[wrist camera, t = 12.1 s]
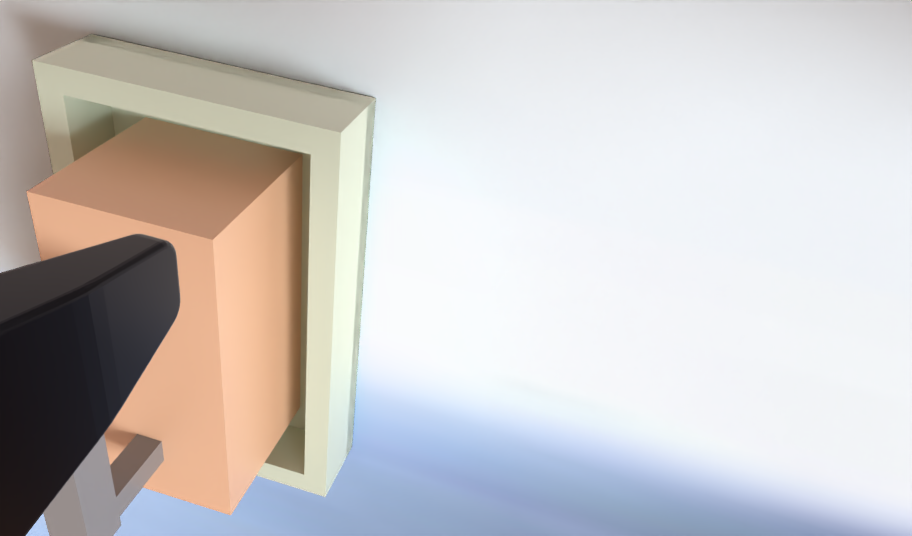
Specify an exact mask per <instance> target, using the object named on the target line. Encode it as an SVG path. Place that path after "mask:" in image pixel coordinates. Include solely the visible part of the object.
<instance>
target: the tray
mask: <svg viewBox="0 0 912 536" xmlns="http://www.w3.org/2000/svg"><path fill="white" fill-rule="evenodd" d="M32 63H33V69H34V74H35V80H36V85H37V90H38V96H39V101H40V107H41V112H42V117H43V123H44V128H45V134H46V139H47V144H48V150H49V155H50V160H51V166H52V171H53V175H54V174H55V173H57V172H58V171H60V170H62V169H63V168H65V167H66V166H68V165H70V164H71V163H73V162H74V161H76V160H78V159H79V158H81V157H82V156H84V155H86V154H87V153H89V152H90V151H92V150H94V149H95V148H97V147H98V146H100V145H102V144H103V143H105V142H106V141H108V140H110V139H111V138H113V137H114V136H116V135H118V134H119V133H121V132H123V131H124V130H126V129H127V128H129V127H131V126H132V125H134V124H135V123H137V122H139V121H140V120H142V119H143V118H145V117H147V118H152V119H156V120H160V121H164V122H168V123H173V124H177V125H181V126H185V127H189V128H194V129H198V130H202V131H206V132H211V133H215V134H219V135H223V136H227V137H232V138H236V139H240V140H244V141H248V142H253V143H257V144H261V145H265V146H269V147H274V148H278V149H282V150H286V151H291V152H295V153H299V154H303V159H302V264H301V370H300V408H299V410H298V411H297V413H296V414H295V416H294V417H293V419H292V420H291V422H290V424H289V425H288V427H287V428H286V430H285V431H284V433H283V435H282V436H281V438H280V439H279V441H278V442H277V444H276V445H275V447H274V449H273V450H272V452H271V453H270V455H269V456H268V458H267V460H266V461H265V463H264V464H263V466H262V467H261V469H260V470H259V472H258V474H257V476H260V477H263V478H266V479H269V480H273V481H276V482H279V483H282V484H286V485H289V486H292V487H295V488H298V489H302V490H305V491H308V492H311V493H314V494H318V495H321V496H324V497H326V495H327V493H328V491H329V489H330V487H331V485H332V483H333V482H334V480H335V478H336V476H337V474H338V472H339V470H340V468H341V466H342V464H343V463H344V461H345V459H346V457H347V455H348V453H349V451H350V449H351V447H352V440H353V425H354V411H355V396H356V381H357V366H358V352H359V337H360V322H361V308H362V293H363V278H364V264H365V249H366V234H367V219H368V205H369V190H370V175H371V161H372V146H373V131H374V117H375V102H376V98H372V97H368V96H363V95H359V94H354V93H350V92H346V91H341V90H337V89H332V88H328V87H324V86H319V85H315V84H310V83H306V82H301V81H297V80H293V79H288V78H284V77H279V76H275V75H270V74H266V73H262V72H257V71H253V70H248V69H244V68H240V67H235V66H231V65H226V64H222V63H217V62H213V61H209V60H204V59H200V58H195V57H191V56H186V55H182V54H178V53H173V52H169V51H164V50H160V49H155V48H151V47H147V46H142V45H138V44H133V43H129V42H125V41H120V40H116V39H111V38H107V37H102V36H98V35H94V34H91V35H89V36H86V37H84V38H82V39H79V40H77V41H75V42H72V43H70V44H68V45H66V46H63V47H61V48H59V49H56V50H54V51H52V52H50V53H47V54H45V55H43V56H40V57H38V58H36V59H33V60H32Z"/></svg>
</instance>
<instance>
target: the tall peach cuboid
mask: <svg viewBox="0 0 912 536" xmlns="http://www.w3.org/2000/svg"><path fill="white" fill-rule="evenodd" d="M302 159H303V154H299V153H295V152H291V151H286V150H282V149H278V148H274V147H269V146H265V145H261V144H257V143H253V142H248V141H244V140H240V139H236V138H232V137H227V136H223V135H219V134H215V133H211V132H206V131H202V130H198V129H194V128H189V127H185V126H181V125H177V124H173V123H168V122H164V121H160V120H156V119H152V118H147V117H145V118H143V119H142V120H140V121H139V122H137V123H135V124H134V125H132V126H131V127H129V128H127V129H126V130H124V131H123V132H121V133H119V134H118V135H116V136H114V137H113V138H111V139H110V140H108V141H106V142H105V143H103V144H102V145H100V146H98V147H97V148H95V149H94V150H92V151H90V152H89V153H87V154H86V155H84V156H82V157H81V158H79V159H78V160H76V161H74V162H73V163H71V164H70V165H68V166H66V167H65V168H63V169H62V170H60V171H58V172H57V173H55V174H54V175H52V176H50V177H49V178H47V179H46V180H44V181H42V182H41V183H39V184H38V185H36V186H34V187H33V188H31V189H30V190H28V191H26V192H27V196H28V201H29V206H30V210H31V215H32V220H33V224H34V229H35V234H36V238H37V243H38V248H39V252H40V257H41V261H43V260H47V259H50V258H53V257H57V256H60V255H64V254H67V253H71V252H74V251H78V250H81V249H84V248H88V247H91V246H95V245H98V244H102V243H105V242H108V241H112V240H115V239H119V238H122V237H126V236H129V235H132V234H145V235H148V236H152V237H156V238H160V239H163V240H167V241H169V242H170V243H171V244H172V245H173V246H174V248H175V250H176V255H177V265H178V276H179V287H180V308H179V312H178V315H177V317H176V319H175V321H174V323H173V325H172V326H171V328H170V330H169V331H168V333H167V335H166V336H165V338H164V340H163V341H162V343H161V344H160V346H159V348H158V349H157V351H156V353H155V354H154V356H153V358H152V359H151V361H150V362H149V364H148V366H147V367H146V369H145V371H144V372H143V374H142V375H141V377H140V379H139V380H138V382H137V384H136V385H135V387H134V389H133V390H132V392H131V393H130V395H129V397H128V398H127V400H126V402H125V403H124V405H123V407H122V408H121V410H120V411H119V413H118V414H117V416H116V417H115V419H114V420H113V422H112V423H111V425H110V426H109V427H108V429H107V430H106V432H105V433H104V434H103V436H102V437H101V438H100V440H99V441H98V442H97V444H96V445H95V446H94V448H93V449H92V450H91V451H90V453H89V454H88V455H87V457H86V458H85V459H84V460H83V462H82V463H81V464H80V466H79V467H78V468H77V470H76V471H75V472H74V473H73V475H72V476H71V477H70V479H69V480H68V481H67V482H66V484H65V485H64V486H63V488H62V489H61V490H60V492H59V493H58V494H57V495H56V497H55V498H54V499H53V501H52V502H51V503H50V504H49V506H48V507H47V508H46V510H45V511H44V512H43V513H44V517H45V521H46V524H47V528H48V532H49V535H50V536H113V535H114V534H115V532H116V531H117V530H118V529H119V527H120V526H121V521H120V516H121V514H122V513H123V512H124V510H125V509H126V508H127V507H128V505H129V504H130V503H131V502H132V500H133V499H134V498H135V496H136V495H137V494H138V493H139V491H140V490H141V489H142V488H143V487H144V488H147V489H150V490H153V491H156V492H159V493H162V494H166V495H169V496H172V497H175V498H178V499H181V500H184V501H188V502H191V503H194V504H197V505H200V506H203V507H206V508H209V509H213V510H216V511H219V512H222V513H225V514H228V515H231V514H232V513H233V511H234V509H235V508H236V506H237V505H238V503H239V502H240V500H241V499H242V497H243V495H244V494H245V492H246V491H247V489H248V488H249V486H250V484H251V483H252V481H253V480H254V478H255V477H256V475H257V474H258V472H259V470H260V469H261V467H262V466H263V464H264V463H265V461H266V460H267V458H268V456H269V455H270V453H271V452H272V450H273V449H274V447H275V445H276V444H277V442H278V441H279V439H280V438H281V436H282V435H283V433H284V431H285V430H286V428H287V427H288V425H289V424H290V422H291V420H292V419H293V417H294V416H295V414H296V413H297V411H298V410H299V408H300V370H301V264H302Z"/></svg>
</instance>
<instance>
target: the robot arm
mask: <svg viewBox="0 0 912 536" xmlns="http://www.w3.org/2000/svg"><path fill="white" fill-rule="evenodd" d="M179 308H180V287H179V276H178V265H177V255H176V250H175V248H174V246H173V245H172V244H171V243H170V242H169V241H167V240H163V239H160V238H156V237H152V236H148V235H145V234H132V235H129V236H126V237H122V238H119V239H115V240H112V241H108V242H105V243H102V244H98V245H95V246H91V247H88V248H84V249H81V250H78V251H74V252H71V253H67V254H64V255H60V256H57V257H53V258H50V259H47V260H43V261H40V262H36V263H33V264H29V265H26V266H23V267H19V268H16V269H12V270H9V271H5V272H2V273H0V536H26V534H27V533H28V532H29V530H30V529H31V528H32V526H33V525H34V524H35V523H36V521H37V520H38V519H39V517H40V516H41V515H42V514H43V512H44V511H45V510H46V508H47V507H48V506H49V504H50V503H51V502H52V501H53V499H54V498H55V497H56V495H57V494H58V493H59V492H60V490H61V489H62V488H63V486H64V485H65V484H66V482H67V481H68V480H69V479H70V477H71V476H72V475H73V473H74V472H75V471H76V470H77V468H78V467H79V466H80V464H81V463H82V462H83V460H84V459H85V458H86V457H87V455H88V454H89V453H90V451H91V450H92V449H93V448H94V446H95V445H96V444H97V442H98V441H99V440H100V438H101V437H102V436H103V434H104V433H105V432H106V430H107V429H108V427H109V426H110V425H111V423H112V422H113V420H114V419H115V417H116V416H117V414H118V413H119V411H120V410H121V408H122V407H123V405H124V403H125V402H126V400H127V398H128V397H129V395H130V393H131V392H132V390H133V389H134V387H135V385H136V384H137V382H138V380H139V379H140V377H141V375H142V374H143V372H144V371H145V369H146V367H147V366H148V364H149V362H150V361H151V359H152V358H153V356H154V354H155V353H156V351H157V349H158V348H159V346H160V344H161V343H162V341H163V340H164V338H165V336H166V335H167V333H168V331H169V330H170V328H171V326H172V325H173V323H174V321H175V319H176V317H177V315H178V312H179Z"/></svg>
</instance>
